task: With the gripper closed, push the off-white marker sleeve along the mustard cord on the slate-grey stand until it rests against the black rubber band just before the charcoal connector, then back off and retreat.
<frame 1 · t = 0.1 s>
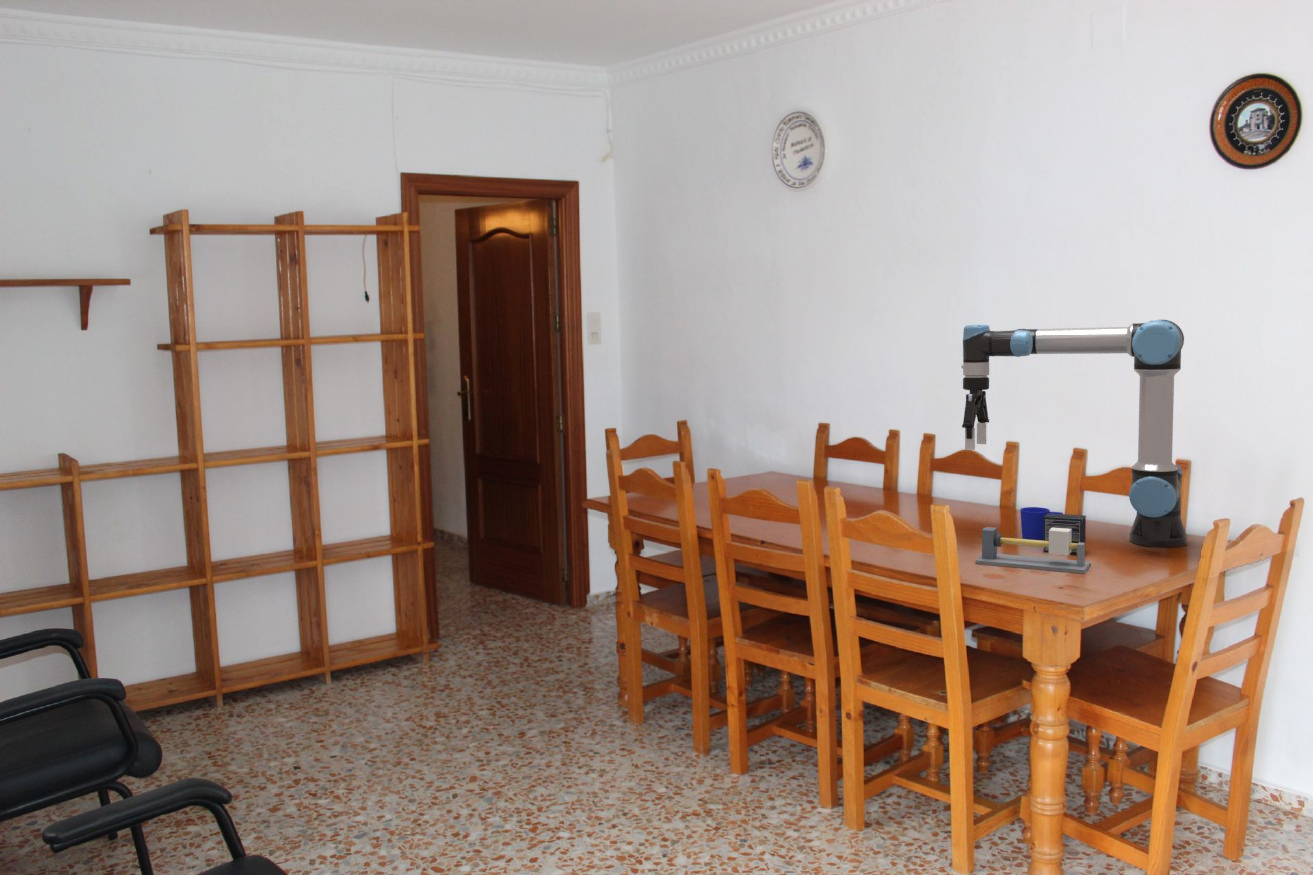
hand: (975, 446, 317), 28 cm above the table, fingers open, 13 cm apart
small box: (1064, 552, 299), on the table
cord stand: (1032, 564, 286), on the table
mug: (1041, 543, 311), on the table
sleeve: (1060, 541, 281), point 7 cm above the table, slide at 0.0 cm
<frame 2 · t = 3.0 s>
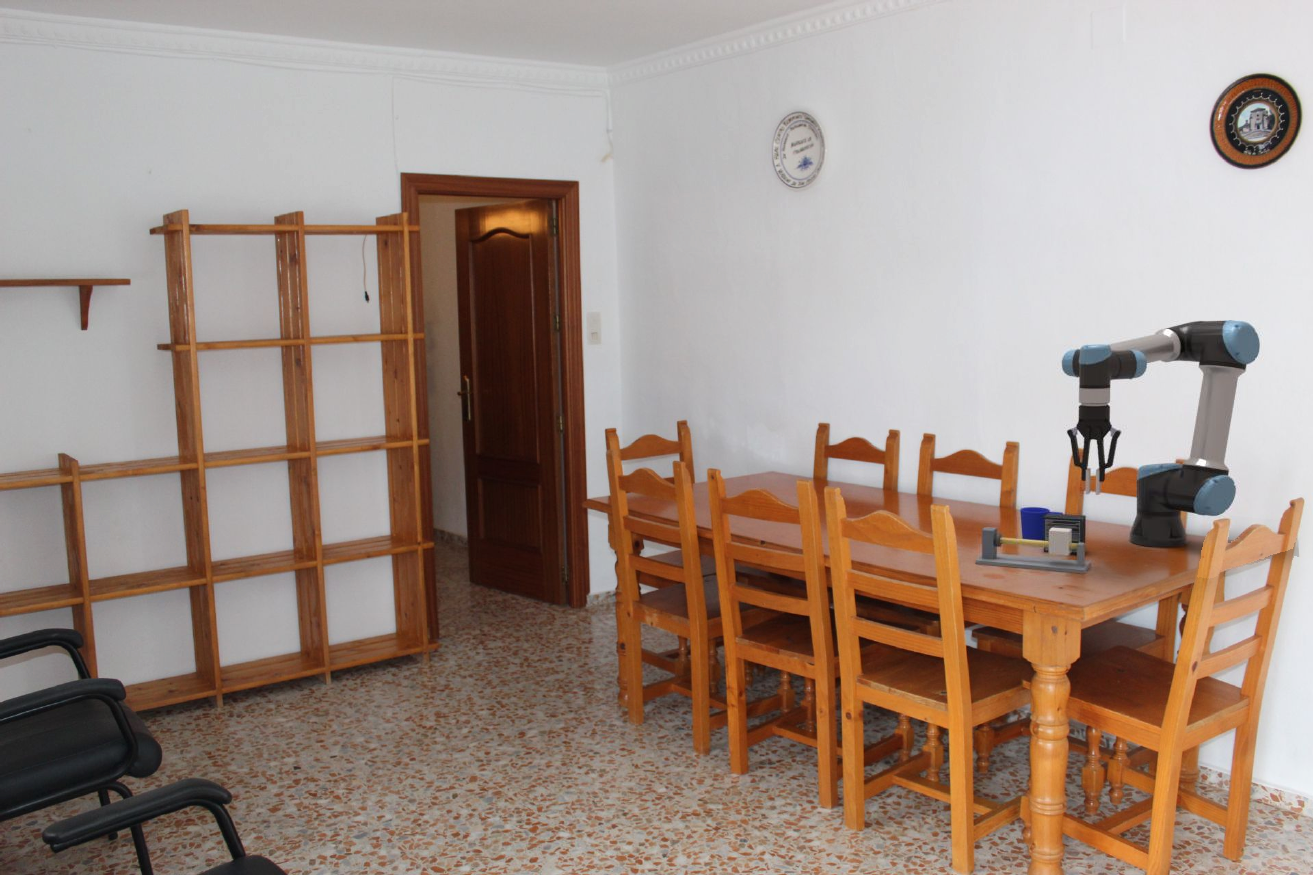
hand: (1092, 493, 276), 20 cm above the table, fingers closed
nothing on the table moved.
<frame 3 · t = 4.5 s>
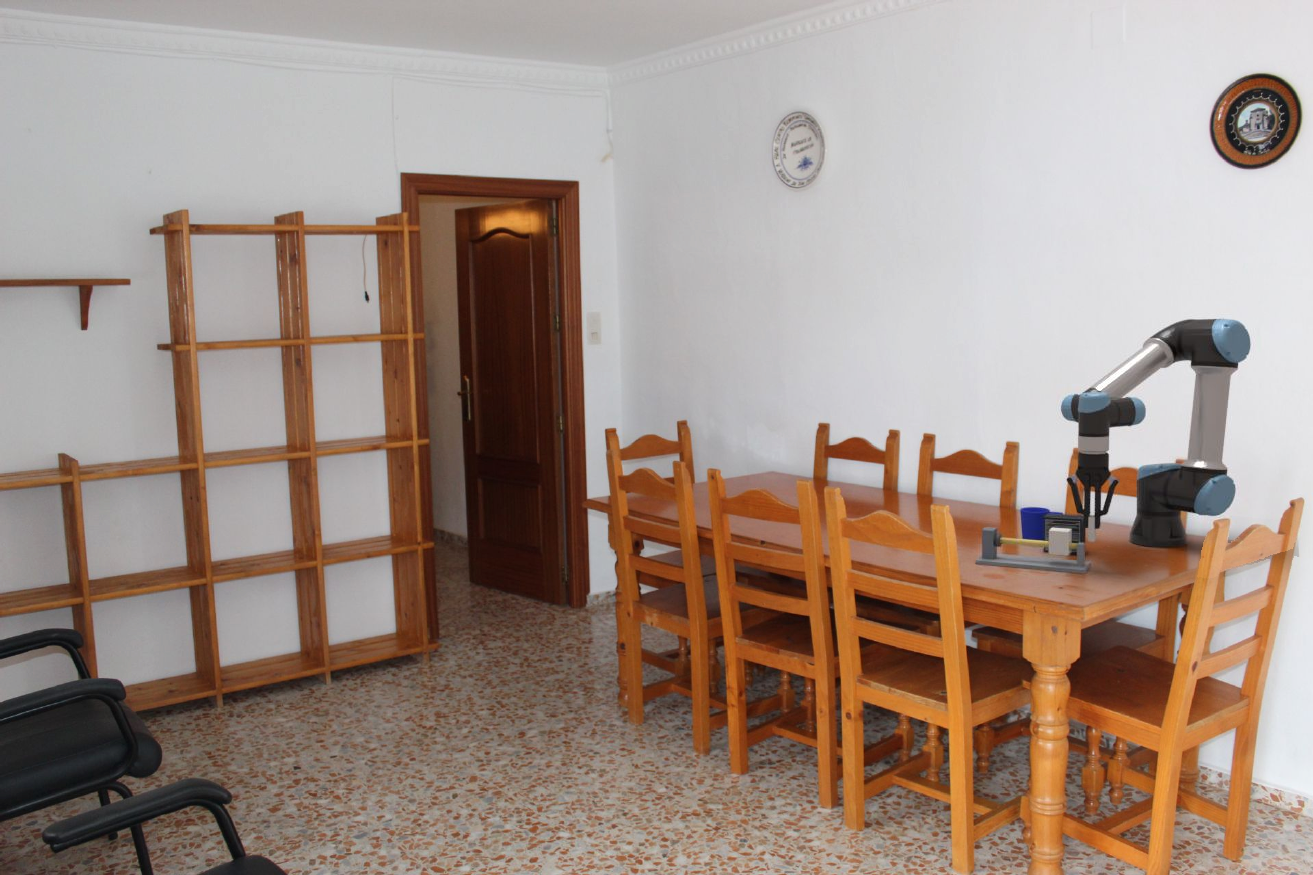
hand: (1091, 540, 277), 8 cm above the table, fingers closed
nothing on the table moved.
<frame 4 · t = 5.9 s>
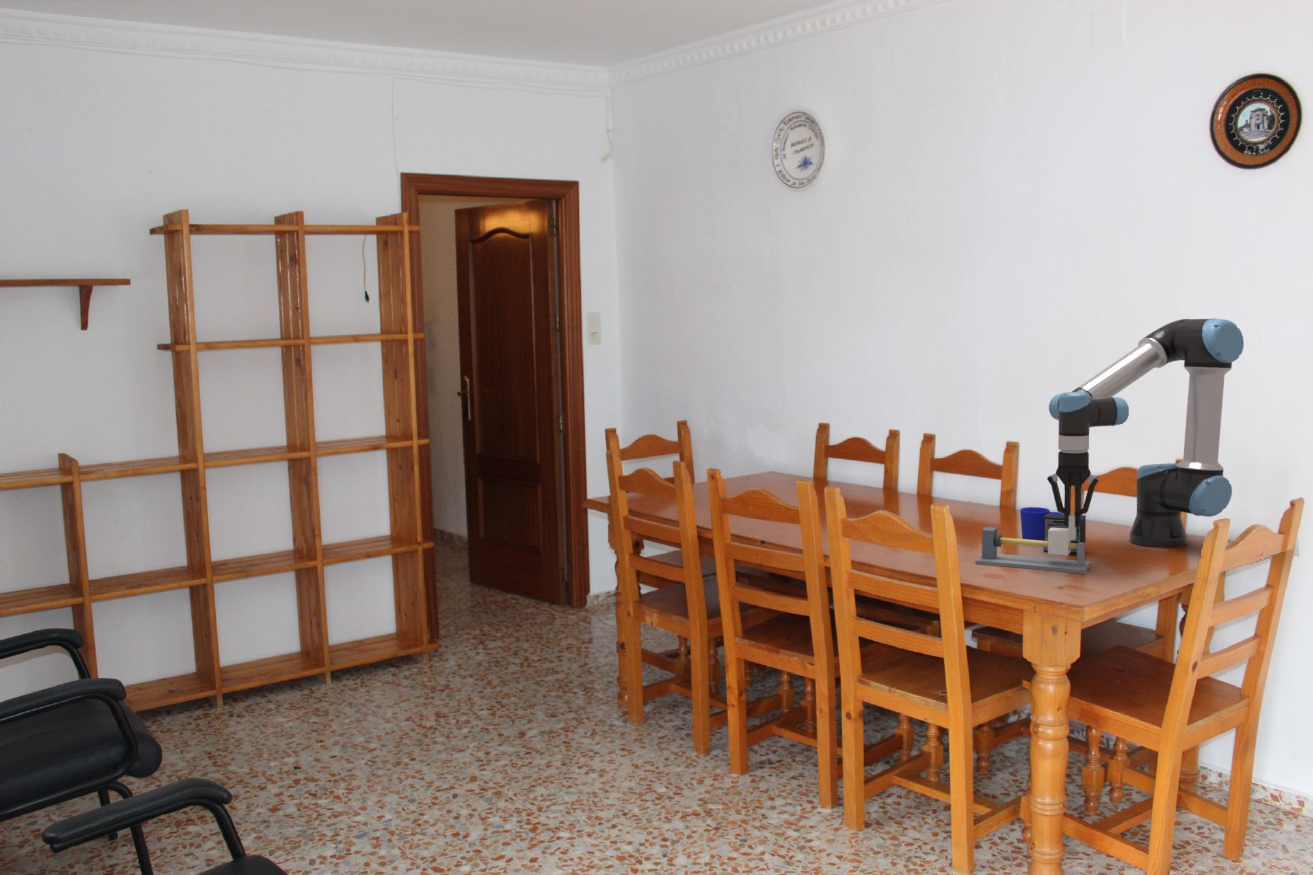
hand: (1072, 538, 280), 8 cm above the table, fingers closed
sleeve: (1059, 541, 281), point 7 cm above the table, slide at 0.2 cm, touching gripper
everything else where it was.
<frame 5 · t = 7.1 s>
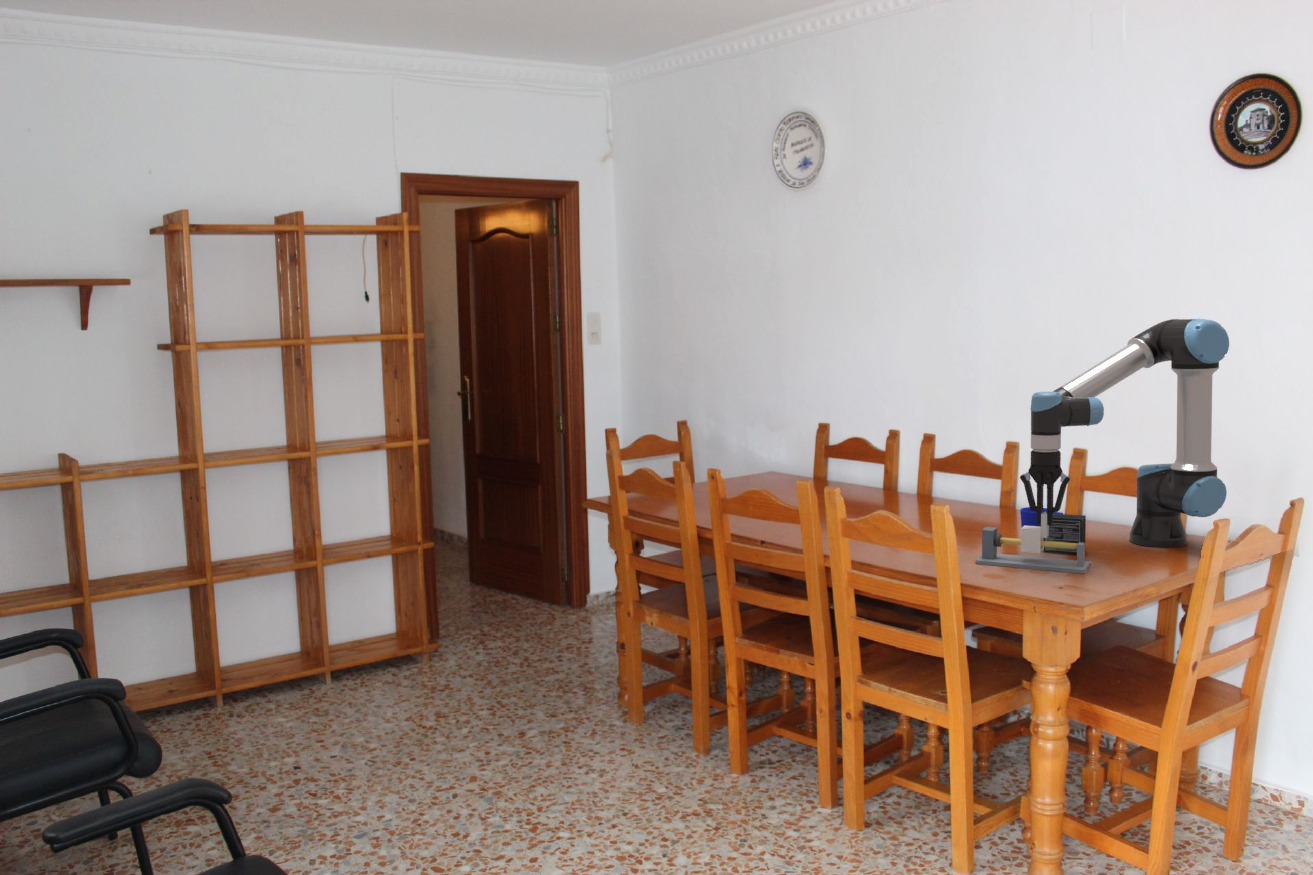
hand: (1044, 536, 283), 8 cm above the table, fingers closed
sleeve: (1032, 539, 285), point 7 cm above the table, slide at 7.2 cm, touching gripper
everything else where it was.
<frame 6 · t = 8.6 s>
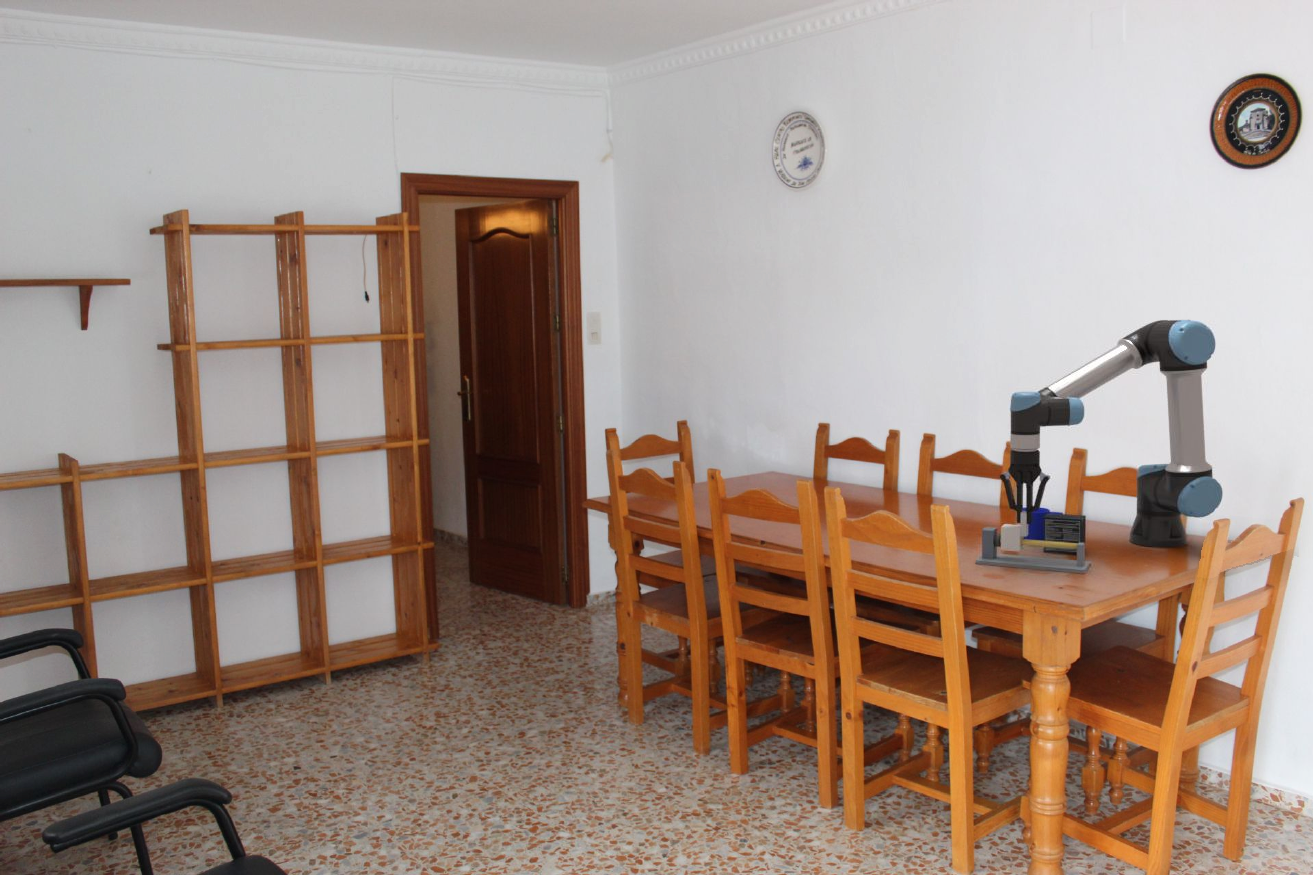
hand: (1024, 535, 286), 8 cm above the table, fingers closed
sleeve: (1012, 537, 288), point 7 cm above the table, slide at 12.5 cm, touching gripper
everything else where it was.
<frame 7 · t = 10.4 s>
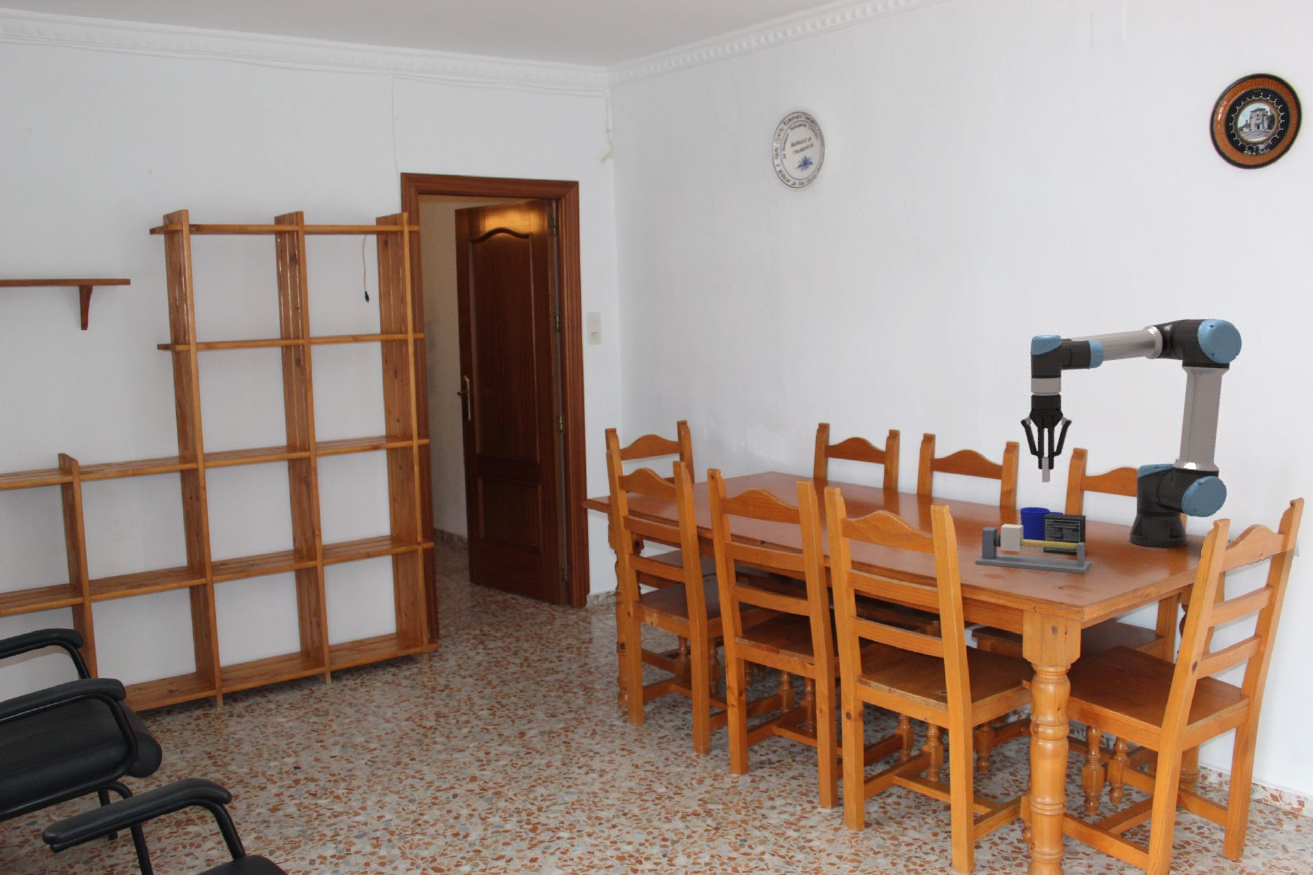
hand: (1046, 481, 282), 23 cm above the table, fingers closed
sleeve: (1011, 537, 288), point 7 cm above the table, slide at 12.5 cm
everything else where it was.
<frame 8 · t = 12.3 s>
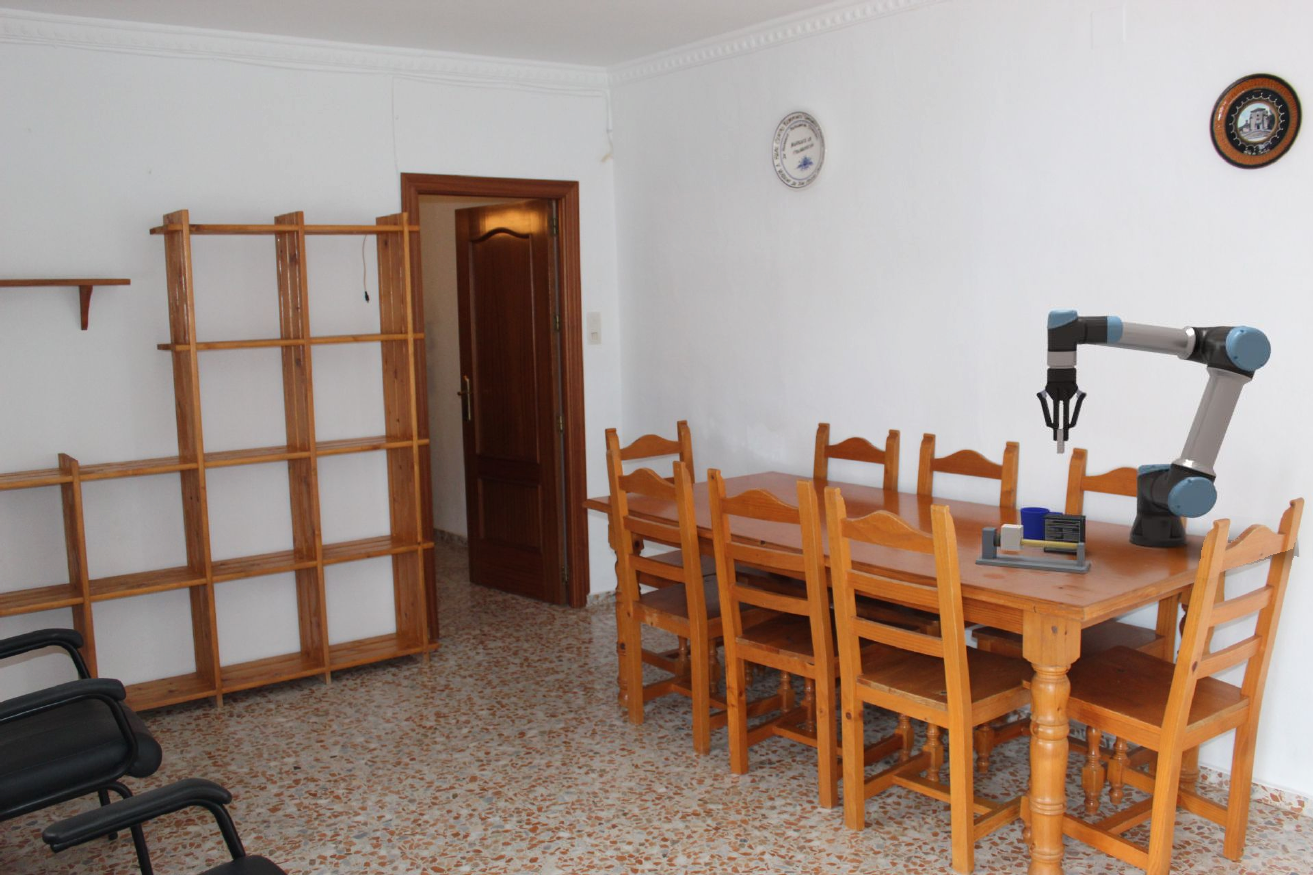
hand: (1060, 452, 289), 29 cm above the table, fingers closed
nothing on the table moved.
at the end: sleeve slide at 12.5 cm; the gripper is holding nothing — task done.
